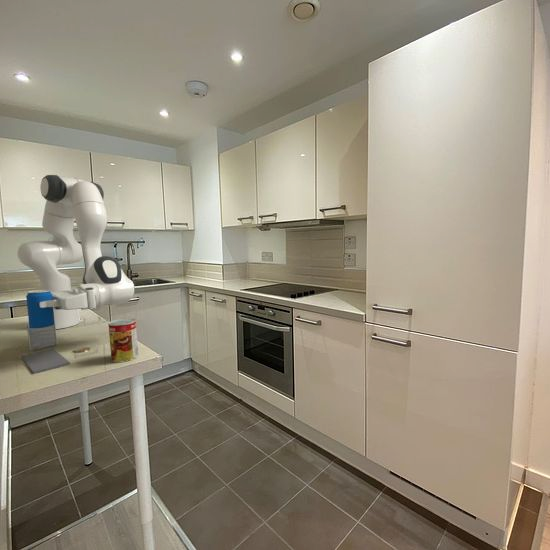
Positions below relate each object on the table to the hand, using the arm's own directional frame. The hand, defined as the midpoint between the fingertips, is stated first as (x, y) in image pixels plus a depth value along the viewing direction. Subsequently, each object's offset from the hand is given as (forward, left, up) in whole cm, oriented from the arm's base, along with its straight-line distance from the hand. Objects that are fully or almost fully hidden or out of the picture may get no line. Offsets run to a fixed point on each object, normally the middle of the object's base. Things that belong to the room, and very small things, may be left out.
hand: (36, 303), depth 97 cm
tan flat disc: (-2, +11, -19) cm, 22 cm away
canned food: (+18, +18, -19) cm, 32 cm away
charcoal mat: (0, 0, -19) cm, 19 cm away
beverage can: (0, +1, -8) cm, 8 cm away
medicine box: (-18, +3, -19) cm, 26 cm away
